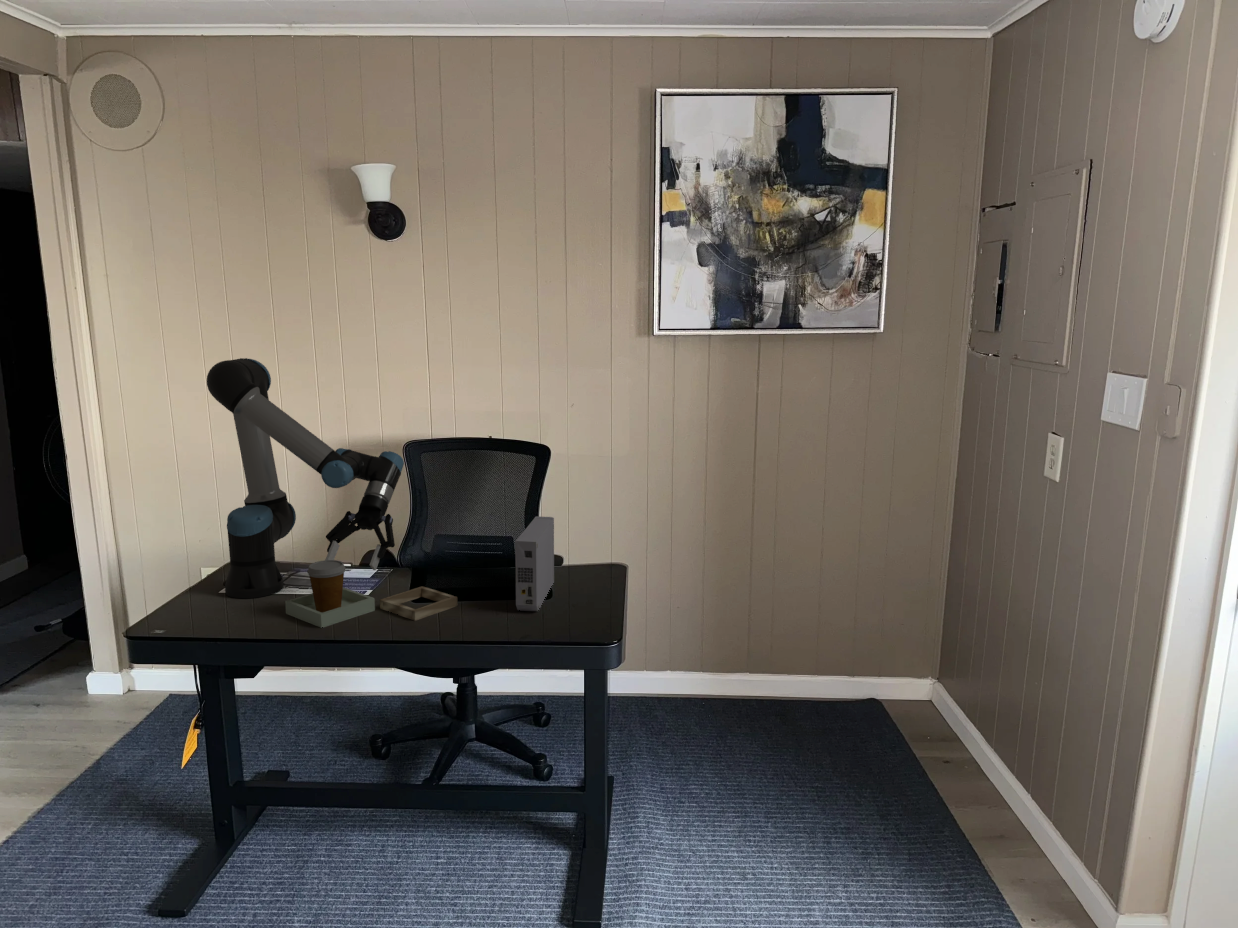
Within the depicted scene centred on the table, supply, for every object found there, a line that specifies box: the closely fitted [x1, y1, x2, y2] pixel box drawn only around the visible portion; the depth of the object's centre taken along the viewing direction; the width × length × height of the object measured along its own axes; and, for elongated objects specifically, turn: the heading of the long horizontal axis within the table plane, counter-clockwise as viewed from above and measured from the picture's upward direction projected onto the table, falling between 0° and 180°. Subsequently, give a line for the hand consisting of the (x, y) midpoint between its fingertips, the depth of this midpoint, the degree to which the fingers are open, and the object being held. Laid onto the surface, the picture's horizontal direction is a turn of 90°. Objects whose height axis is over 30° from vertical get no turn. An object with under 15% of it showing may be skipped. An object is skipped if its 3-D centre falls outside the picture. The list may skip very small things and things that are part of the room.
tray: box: [284, 587, 376, 629], centre depth 219 cm, size 16×16×4 cm
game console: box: [514, 515, 555, 612], centre depth 231 cm, size 6×27×20 cm, turn 174°
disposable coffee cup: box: [306, 559, 347, 612], centre depth 218 cm, size 10×10×12 cm
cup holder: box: [379, 586, 458, 622], centre depth 224 cm, size 14×14×2 cm
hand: (350, 565), depth 227 cm, fingers open, 13 cm apart
